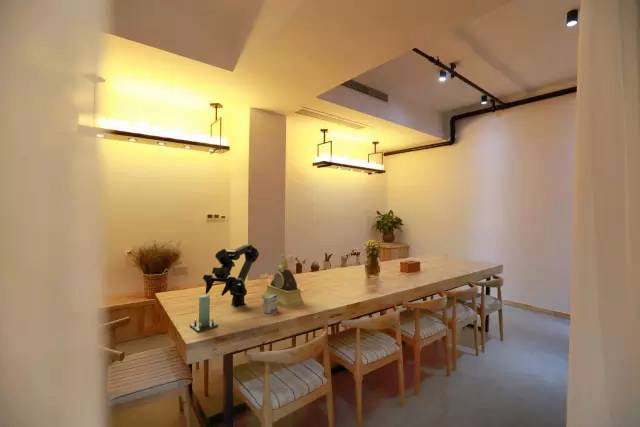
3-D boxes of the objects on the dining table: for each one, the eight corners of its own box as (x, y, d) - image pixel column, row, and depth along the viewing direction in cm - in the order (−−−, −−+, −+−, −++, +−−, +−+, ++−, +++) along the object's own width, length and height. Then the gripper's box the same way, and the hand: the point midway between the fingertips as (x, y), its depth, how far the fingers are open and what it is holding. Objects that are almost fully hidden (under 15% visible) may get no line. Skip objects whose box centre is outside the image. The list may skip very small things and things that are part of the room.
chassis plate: (209, 320, 146) (209, 314, 146) (218, 326, 139) (218, 319, 139) (189, 326, 138) (189, 319, 138) (198, 332, 132) (198, 325, 131)
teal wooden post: (209, 321, 142) (209, 294, 142) (209, 325, 137) (209, 297, 137) (198, 323, 140) (199, 295, 140) (198, 327, 135) (198, 298, 135)
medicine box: (270, 313, 157) (270, 298, 157) (263, 312, 159) (263, 297, 159) (277, 309, 165) (277, 294, 165) (270, 308, 166) (270, 293, 166)
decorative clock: (261, 297, 186) (261, 253, 186) (277, 294, 195) (277, 251, 195) (286, 309, 166) (287, 258, 165) (303, 304, 175) (303, 256, 174)
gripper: (205, 259, 153) (191, 285, 143) (236, 262, 149) (224, 288, 139) (213, 270, 161) (200, 295, 151) (242, 273, 157) (232, 299, 147)
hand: (214, 294), depth 147 cm, fingers open, 9 cm apart
